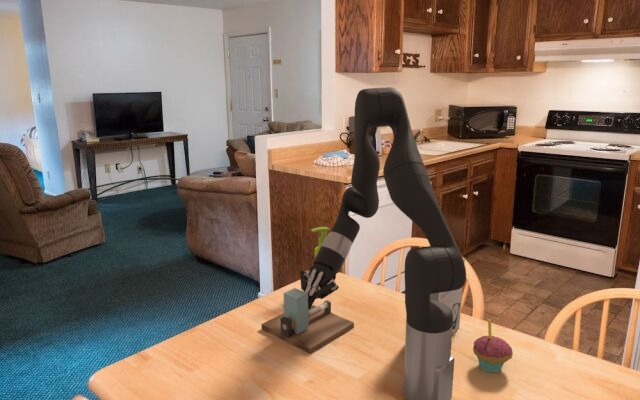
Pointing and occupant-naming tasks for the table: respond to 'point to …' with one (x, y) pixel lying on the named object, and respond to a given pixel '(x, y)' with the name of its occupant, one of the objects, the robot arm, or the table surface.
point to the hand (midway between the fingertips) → (303, 309)
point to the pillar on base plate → (310, 328)
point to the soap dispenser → (322, 238)
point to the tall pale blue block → (297, 309)
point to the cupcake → (492, 351)
